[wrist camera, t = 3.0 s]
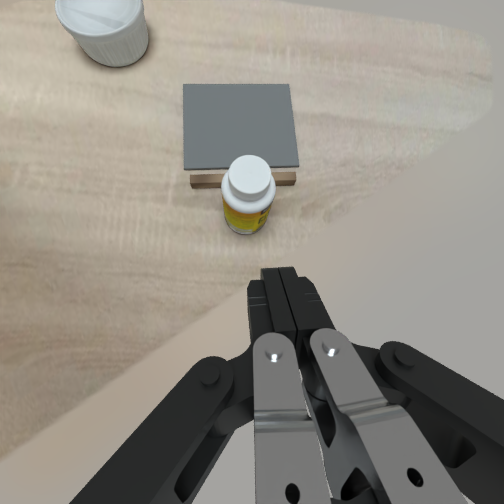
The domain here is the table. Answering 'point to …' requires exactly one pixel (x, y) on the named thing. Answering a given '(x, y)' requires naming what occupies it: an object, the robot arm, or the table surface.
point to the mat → (238, 125)
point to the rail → (216, 179)
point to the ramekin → (106, 28)
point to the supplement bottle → (247, 194)
